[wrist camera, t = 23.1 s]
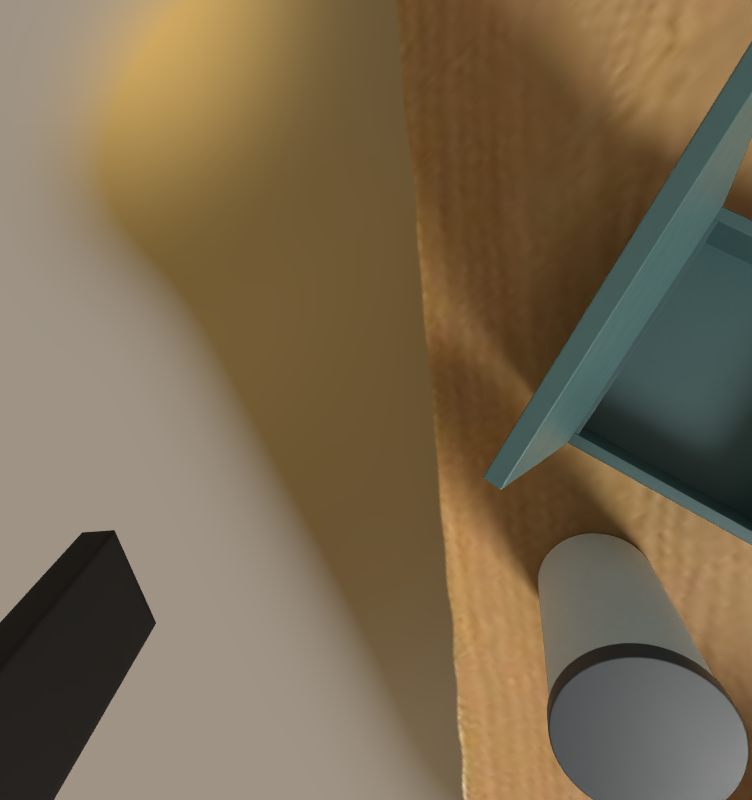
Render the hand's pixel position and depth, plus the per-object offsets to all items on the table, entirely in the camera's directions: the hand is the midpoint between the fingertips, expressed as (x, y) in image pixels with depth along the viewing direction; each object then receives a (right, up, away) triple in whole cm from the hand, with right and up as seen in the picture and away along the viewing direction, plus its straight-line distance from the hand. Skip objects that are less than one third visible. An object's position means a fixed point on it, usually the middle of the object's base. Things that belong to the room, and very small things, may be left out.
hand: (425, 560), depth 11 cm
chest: (+24, +5, +27) cm, 36 cm away
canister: (+17, -12, +31) cm, 38 cm away
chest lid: (+11, +7, +14) cm, 19 cm away
